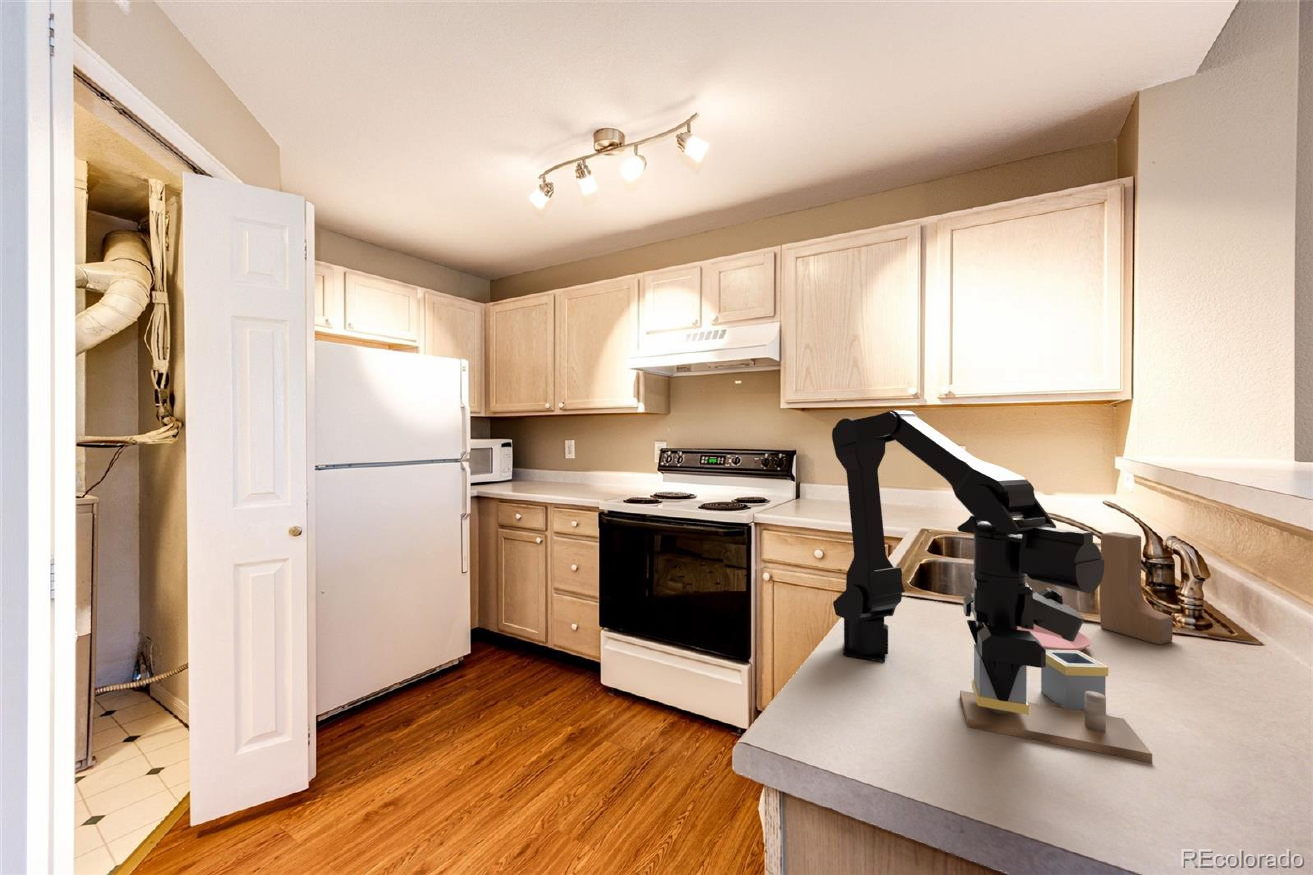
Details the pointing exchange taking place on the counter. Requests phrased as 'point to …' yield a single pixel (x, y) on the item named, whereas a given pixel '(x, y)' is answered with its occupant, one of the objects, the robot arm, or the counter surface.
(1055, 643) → the plate
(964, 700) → the pin board
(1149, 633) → the wooden block
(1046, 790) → the counter surface
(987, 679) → the sleeve band down
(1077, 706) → the sleeve band up
